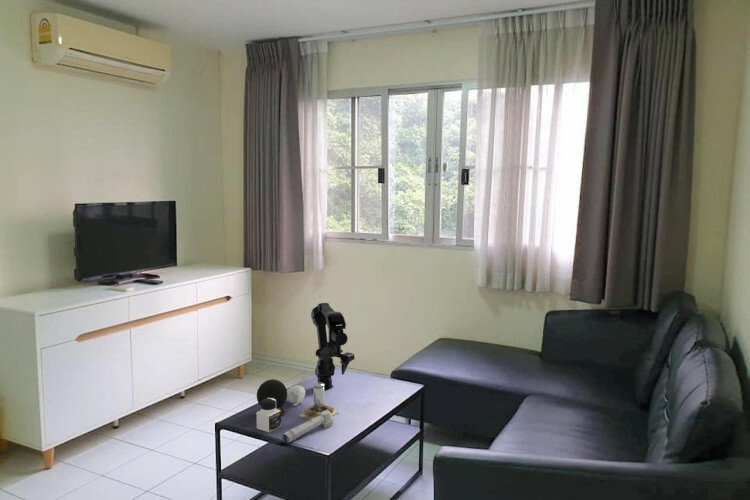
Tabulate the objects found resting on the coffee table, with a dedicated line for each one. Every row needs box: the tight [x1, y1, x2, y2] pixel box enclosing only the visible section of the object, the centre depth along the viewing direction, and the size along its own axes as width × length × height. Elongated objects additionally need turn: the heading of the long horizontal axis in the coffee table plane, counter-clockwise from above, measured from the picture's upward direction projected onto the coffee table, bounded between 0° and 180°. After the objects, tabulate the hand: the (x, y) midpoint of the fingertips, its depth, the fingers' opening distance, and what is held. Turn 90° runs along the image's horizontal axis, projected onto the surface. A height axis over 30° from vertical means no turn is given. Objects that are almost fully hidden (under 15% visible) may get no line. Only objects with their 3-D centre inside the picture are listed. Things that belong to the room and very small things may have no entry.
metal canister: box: [313, 381, 325, 412], centre depth 234 cm, size 5×5×13 cm
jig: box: [299, 404, 339, 421], centre depth 235 cm, size 12×12×3 cm
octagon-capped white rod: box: [281, 410, 335, 445], centre depth 217 cm, size 5×7×25 cm
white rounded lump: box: [286, 385, 306, 407], centre depth 248 cm, size 6×8×12 cm
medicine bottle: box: [256, 398, 282, 433], centre depth 221 cm, size 7×7×12 cm
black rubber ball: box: [256, 379, 288, 418], centre depth 236 cm, size 13×13×15 cm
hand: (334, 372), depth 251 cm, fingers open, 9 cm apart
